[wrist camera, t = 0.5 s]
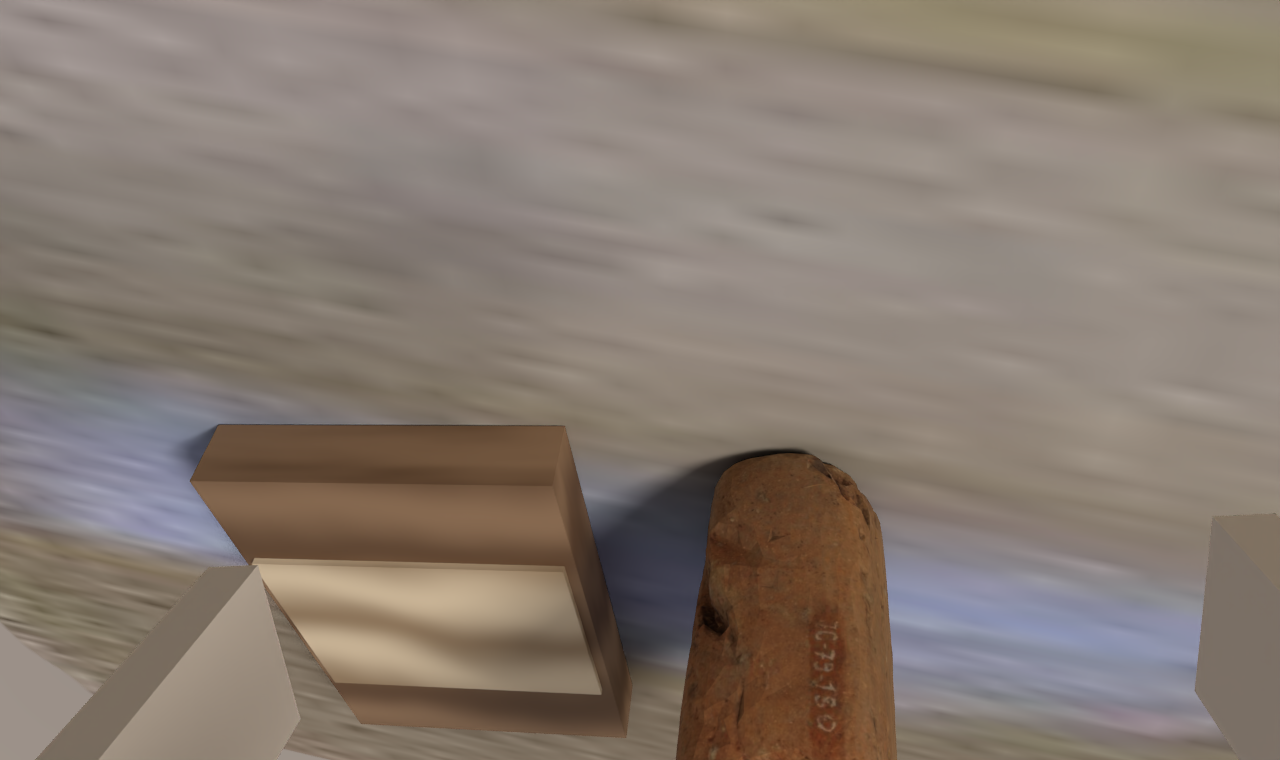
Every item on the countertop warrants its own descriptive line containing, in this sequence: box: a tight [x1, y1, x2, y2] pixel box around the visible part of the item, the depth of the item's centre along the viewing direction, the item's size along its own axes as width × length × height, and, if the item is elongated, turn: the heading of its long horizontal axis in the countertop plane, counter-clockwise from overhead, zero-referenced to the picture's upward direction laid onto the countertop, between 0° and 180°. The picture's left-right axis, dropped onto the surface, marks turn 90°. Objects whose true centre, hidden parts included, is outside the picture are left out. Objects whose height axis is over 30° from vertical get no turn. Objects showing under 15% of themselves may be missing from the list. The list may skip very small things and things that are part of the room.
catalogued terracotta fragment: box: [676, 453, 897, 760], centre depth 37 cm, size 11×8×20 cm
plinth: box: [190, 425, 632, 738], centre depth 49 cm, size 22×15×3 cm
